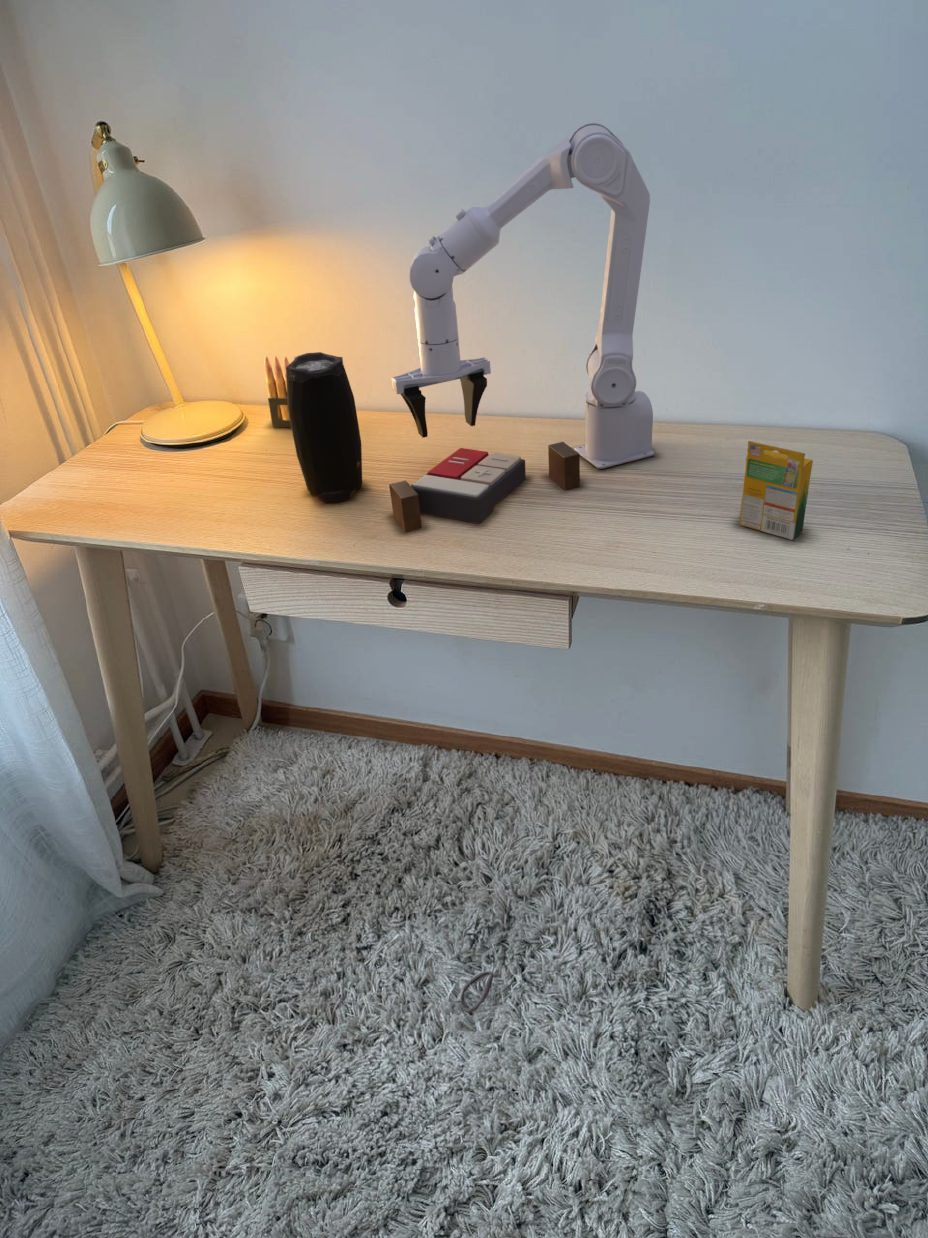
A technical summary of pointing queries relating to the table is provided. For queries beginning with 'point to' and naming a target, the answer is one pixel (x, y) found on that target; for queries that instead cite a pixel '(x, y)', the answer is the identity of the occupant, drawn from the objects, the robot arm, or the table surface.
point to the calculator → (469, 484)
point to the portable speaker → (324, 425)
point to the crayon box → (775, 490)
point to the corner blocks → (560, 470)
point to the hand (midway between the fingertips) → (447, 429)
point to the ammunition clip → (277, 393)
